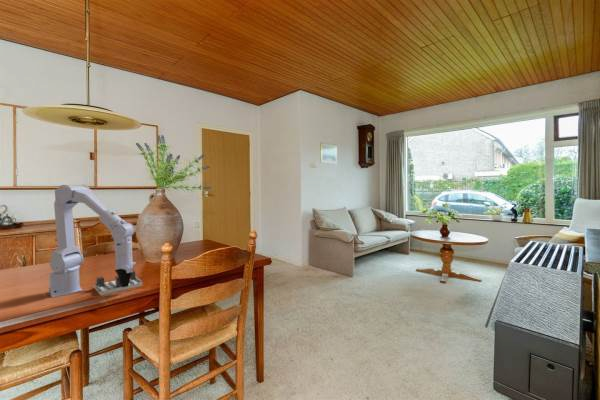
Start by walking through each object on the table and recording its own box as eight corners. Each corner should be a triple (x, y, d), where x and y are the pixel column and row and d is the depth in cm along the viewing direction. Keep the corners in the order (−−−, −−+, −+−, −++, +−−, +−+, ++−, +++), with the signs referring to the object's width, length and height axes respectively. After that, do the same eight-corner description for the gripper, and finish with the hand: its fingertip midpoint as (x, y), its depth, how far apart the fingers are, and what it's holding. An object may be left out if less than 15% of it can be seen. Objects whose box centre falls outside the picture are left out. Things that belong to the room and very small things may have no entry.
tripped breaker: (117, 287, 114) (117, 277, 114) (115, 285, 116) (115, 275, 116) (125, 285, 116) (125, 275, 116) (123, 283, 118) (123, 273, 118)
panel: (100, 295, 109) (100, 283, 109) (94, 288, 117) (93, 276, 117) (142, 285, 120) (142, 274, 120) (133, 279, 128) (133, 269, 128)
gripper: (140, 254, 109) (141, 288, 110) (129, 248, 119) (130, 279, 120) (120, 258, 104) (121, 293, 105) (110, 251, 114) (111, 283, 115)
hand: (124, 286), depth 112 cm, fingers closed
